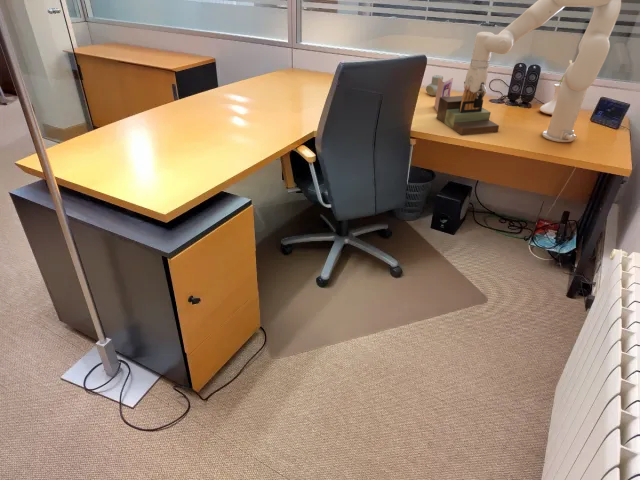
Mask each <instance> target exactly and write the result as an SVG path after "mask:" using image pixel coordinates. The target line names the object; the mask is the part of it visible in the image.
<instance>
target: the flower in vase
mask: <svg viewBox="0 0 640 480" xmlns="http://www.w3.org/2000/svg"><path fill="white" fill-rule="evenodd" d="M568 61H569V62H568V63H569V65H570V64H572V63H573V60H572V59H570V60H568ZM569 65H568V66H569ZM563 77H564V74H563V75H562V77H561V79H560V80H558V82H559V83H554V94H553V98H552V99H551V100H550V101H548V102H546V103H544V104H543V105H541V106H540V108H539V110H540V112H542V113H544V114H546V115H551V116H552V114H553V111H554V108H555V105H556V102H557V99H558V96H559V92H560V89H561V85H562V82H563Z"/></svg>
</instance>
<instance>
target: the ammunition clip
mask: <svg viewBox="0 0 640 480" xmlns="http://www.w3.org/2000/svg"><path fill="white" fill-rule="evenodd" d="M479 94H480V93H478V95H479ZM462 96H463V97H462V101H461V104H460V108H459V112H460V113H467V112H480V111H482V108H483V106H484V105H483V104H484V97H483V98H482V100H481V105H480V107H479V108H474V107H473V105H474V100H475V98H476V94H475V93H473V92H471V93H470V86H469V88H468V91H467V85H466V87H465V89H463V93H462Z"/></svg>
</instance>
